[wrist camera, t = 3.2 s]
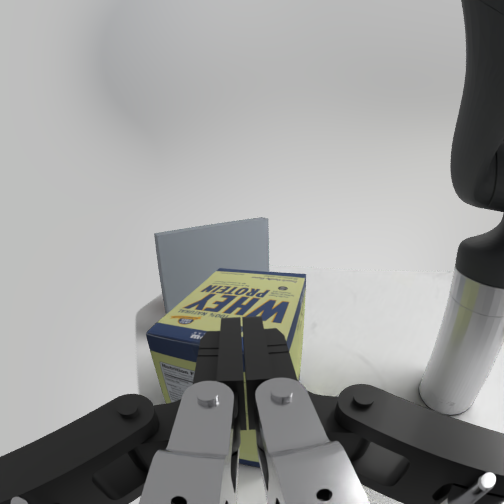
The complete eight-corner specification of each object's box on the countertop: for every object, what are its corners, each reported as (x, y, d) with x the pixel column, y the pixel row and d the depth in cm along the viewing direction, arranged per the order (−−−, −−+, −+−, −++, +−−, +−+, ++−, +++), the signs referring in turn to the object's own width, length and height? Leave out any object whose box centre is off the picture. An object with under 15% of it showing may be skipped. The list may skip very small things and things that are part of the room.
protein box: (300, 377, 34) (307, 271, 30) (276, 472, 20) (283, 359, 16) (227, 367, 37) (219, 265, 33) (179, 448, 23) (140, 333, 18)
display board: (252, 298, 59) (249, 214, 54) (269, 309, 54) (268, 218, 49) (163, 324, 48) (148, 229, 43) (173, 340, 44) (157, 235, 39)
